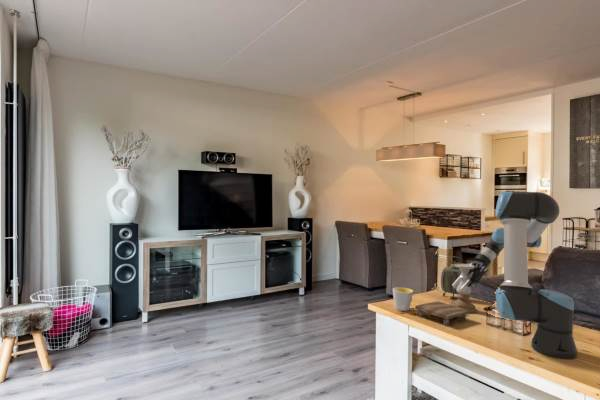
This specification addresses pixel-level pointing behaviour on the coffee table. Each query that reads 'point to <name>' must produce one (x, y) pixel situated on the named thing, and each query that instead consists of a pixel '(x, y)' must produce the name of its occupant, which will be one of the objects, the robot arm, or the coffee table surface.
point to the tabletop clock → (449, 278)
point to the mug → (402, 298)
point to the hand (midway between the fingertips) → (458, 288)
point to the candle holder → (463, 296)
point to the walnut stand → (442, 311)
